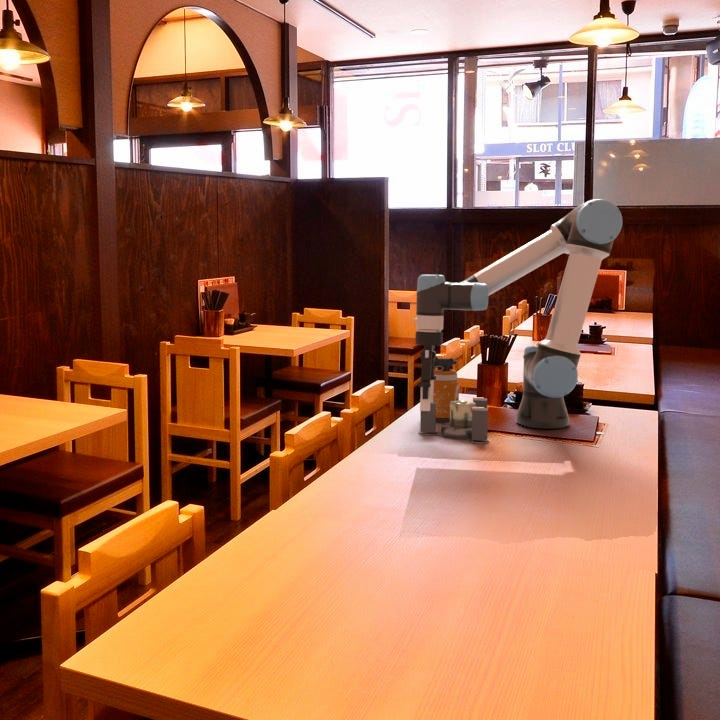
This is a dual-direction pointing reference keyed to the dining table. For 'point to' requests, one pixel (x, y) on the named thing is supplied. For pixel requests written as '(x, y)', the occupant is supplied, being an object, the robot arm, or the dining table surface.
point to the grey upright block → (428, 419)
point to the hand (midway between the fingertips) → (426, 406)
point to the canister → (444, 388)
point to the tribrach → (458, 422)
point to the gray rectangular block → (479, 423)
